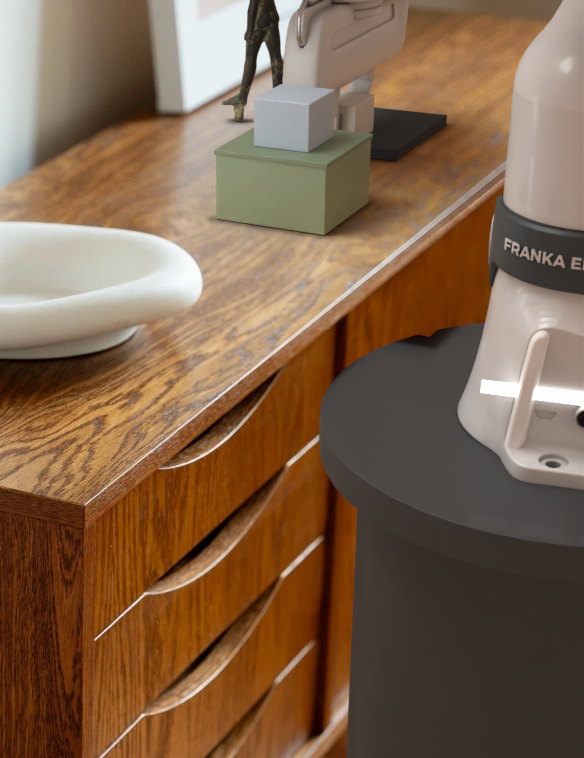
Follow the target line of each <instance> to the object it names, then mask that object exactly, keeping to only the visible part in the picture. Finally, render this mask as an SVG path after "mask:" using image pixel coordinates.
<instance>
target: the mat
mask: <svg viewBox="0 0 584 758" xmlns="http://www.w3.org/2000/svg"><path fill="white" fill-rule="evenodd" d="M447 122H448V115H447V114H442V113H441V114H440V113H432V112H421V111H413V110H404V109H396V108H395V109H393V108H384V107H375V106H374V121H373V131H372V132H370V134H373V138H372V139H371V152H370V159H378V160H385V161H391V162H392V161H394V162H396V161H398V160H399V159H401V157H403V156H405V155H406V154H407V153H409V152H410V151H412V150H413V149H415V148H416V147H417V146H419V145H421V144H422V143H423V142H424V141H426V140H427V139H429V138H430V137H432V136H433V135H434V134H435V133H437V132H438V131H440V130H441V129H443V128H444V127H446V126H447Z"/></svg>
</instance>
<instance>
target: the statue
mask: <svg viewBox="0 0 584 758" xmlns="http://www.w3.org/2000/svg"><path fill="white" fill-rule="evenodd" d="M246 13H247V14H246V30H245V32H244V34H243V40H244V41H245V56H244V57H245V58H244V59H245V60H244V64H243V72H242V76H241V77H242V78H241V85H240V89H239V92H238V93H237V94H235V95H234V96H231V97H229V98H227V99H224V100H222V102H221V105H222V106H232V107H233V112H234V120H235V122H241V121H243V120H244V117H245V116H244V115H245V107H246V106H247V104H248V98H249V94H250V91H251V88H252V84H253V82H254V80H255V76H256V73H257V67H258V66H257V65H258V63H257V62H258V57H259V56H258V55H259V52H260V50H261V48H262V45H263V43H264V45H265V47H266V49H267V52H268V56H269V63H270V70H271V80H272V81H271V82H272V89H273V88H275V87H277V86H279V85H280V84H283V67H284V59H283V56H282V48H281V47H282V46H281V41H282V40H281V32H280V25H279V24H280V21H281V20H280V19H281V18H280V14H279V12H278V10H277V6H276V2H275V0H249V3H248V7H247V12H246Z"/></svg>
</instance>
